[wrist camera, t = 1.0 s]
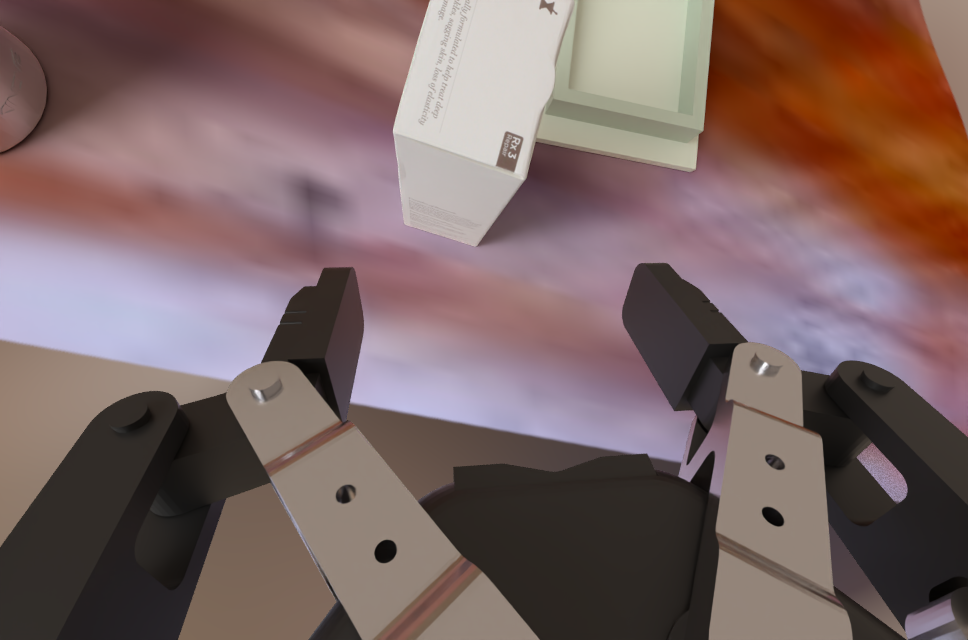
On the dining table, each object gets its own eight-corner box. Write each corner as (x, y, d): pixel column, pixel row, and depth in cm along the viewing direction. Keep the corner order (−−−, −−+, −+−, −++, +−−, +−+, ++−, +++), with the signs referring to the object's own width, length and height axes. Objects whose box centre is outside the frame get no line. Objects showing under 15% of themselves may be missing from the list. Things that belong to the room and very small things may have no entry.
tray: (527, 140, 32) (536, 122, 29) (552, -73, 33) (563, -108, 30) (690, 172, 34) (713, 158, 31) (708, -30, 35) (731, -59, 32)
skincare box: (432, 127, 31) (441, -71, 16) (508, 152, 31) (582, -14, 17) (402, 231, 30) (380, 125, 15) (480, 255, 31) (532, 175, 16)
